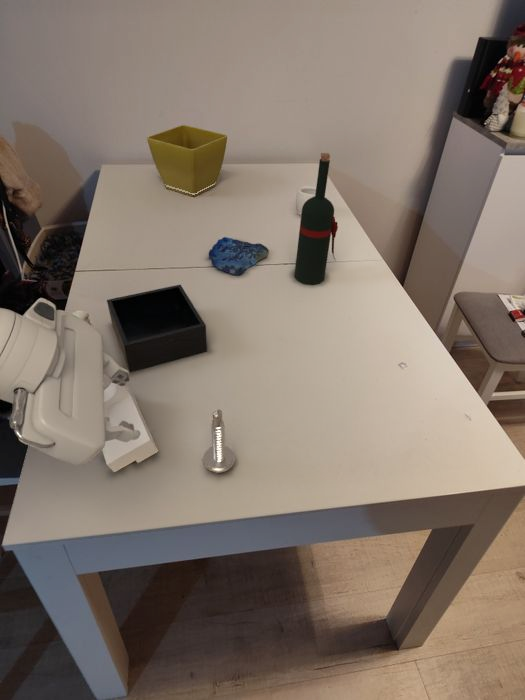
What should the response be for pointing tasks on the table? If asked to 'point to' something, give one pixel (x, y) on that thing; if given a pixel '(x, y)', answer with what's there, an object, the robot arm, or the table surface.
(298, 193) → the mug
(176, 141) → the flower pot
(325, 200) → the wine bottle
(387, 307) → the table surface
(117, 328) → the open box
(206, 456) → the screw
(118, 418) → the bracket
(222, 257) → the rock
